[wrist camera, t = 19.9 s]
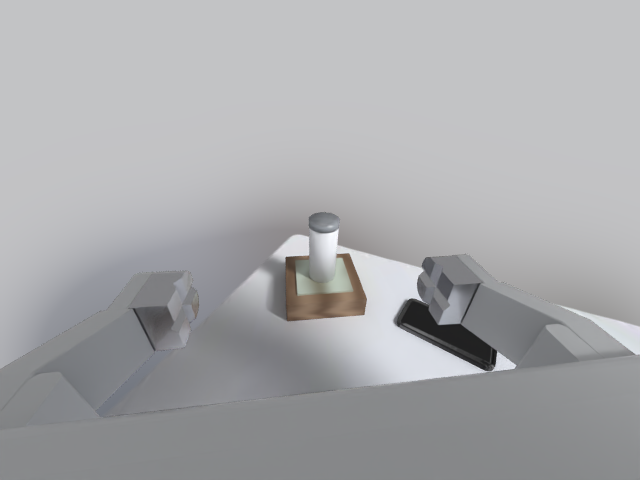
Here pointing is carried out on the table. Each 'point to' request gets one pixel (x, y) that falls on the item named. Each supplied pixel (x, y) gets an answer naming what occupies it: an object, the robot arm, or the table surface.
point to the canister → (323, 246)
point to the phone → (446, 335)
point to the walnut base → (323, 291)
